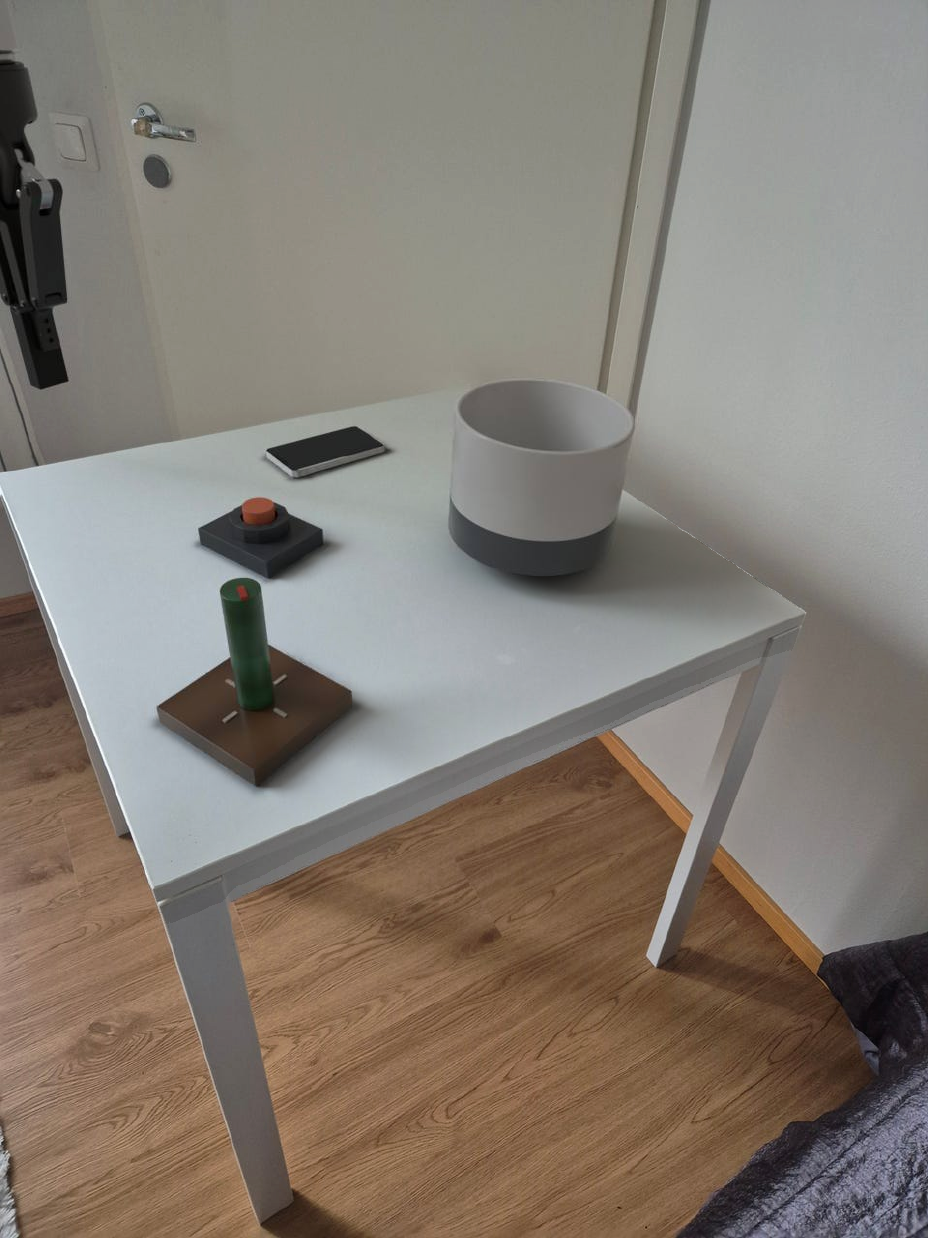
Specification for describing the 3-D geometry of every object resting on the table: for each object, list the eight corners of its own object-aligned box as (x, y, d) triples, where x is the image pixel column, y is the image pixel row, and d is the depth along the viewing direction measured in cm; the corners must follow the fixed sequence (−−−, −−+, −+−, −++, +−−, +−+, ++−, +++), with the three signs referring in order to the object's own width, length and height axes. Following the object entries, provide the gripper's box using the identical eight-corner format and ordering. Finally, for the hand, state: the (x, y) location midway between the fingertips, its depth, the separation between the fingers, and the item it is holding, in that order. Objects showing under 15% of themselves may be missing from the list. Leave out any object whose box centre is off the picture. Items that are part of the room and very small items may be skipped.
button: (236, 519, 91) (234, 505, 90) (259, 506, 94) (258, 493, 93) (259, 530, 90) (257, 516, 89) (282, 517, 92) (280, 504, 91)
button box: (200, 544, 93) (195, 514, 91) (257, 513, 99) (254, 485, 97) (268, 578, 89) (264, 548, 86) (323, 544, 95) (321, 515, 92)
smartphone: (386, 445, 114) (294, 471, 106) (386, 452, 115) (294, 480, 106) (354, 424, 118) (263, 448, 110) (354, 432, 119) (264, 456, 111)
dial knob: (233, 690, 72) (215, 578, 64) (269, 682, 73) (255, 571, 65) (241, 714, 69) (223, 601, 62) (278, 705, 70) (264, 593, 63)
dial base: (159, 723, 71) (155, 705, 69) (259, 653, 79) (257, 636, 77) (256, 787, 66) (253, 769, 64) (352, 706, 74) (351, 689, 72)
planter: (496, 615, 86) (512, 466, 75) (420, 527, 99) (424, 389, 88) (640, 575, 93) (673, 435, 82) (551, 498, 107) (570, 368, 96)
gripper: (71, 64, 56) (133, 391, 70) (-33, 47, 61) (45, 354, 75) (-36, 64, 51) (55, 417, 65) (-139, 46, 56) (-34, 374, 70)
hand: (49, 382), depth 70 cm, fingers closed
